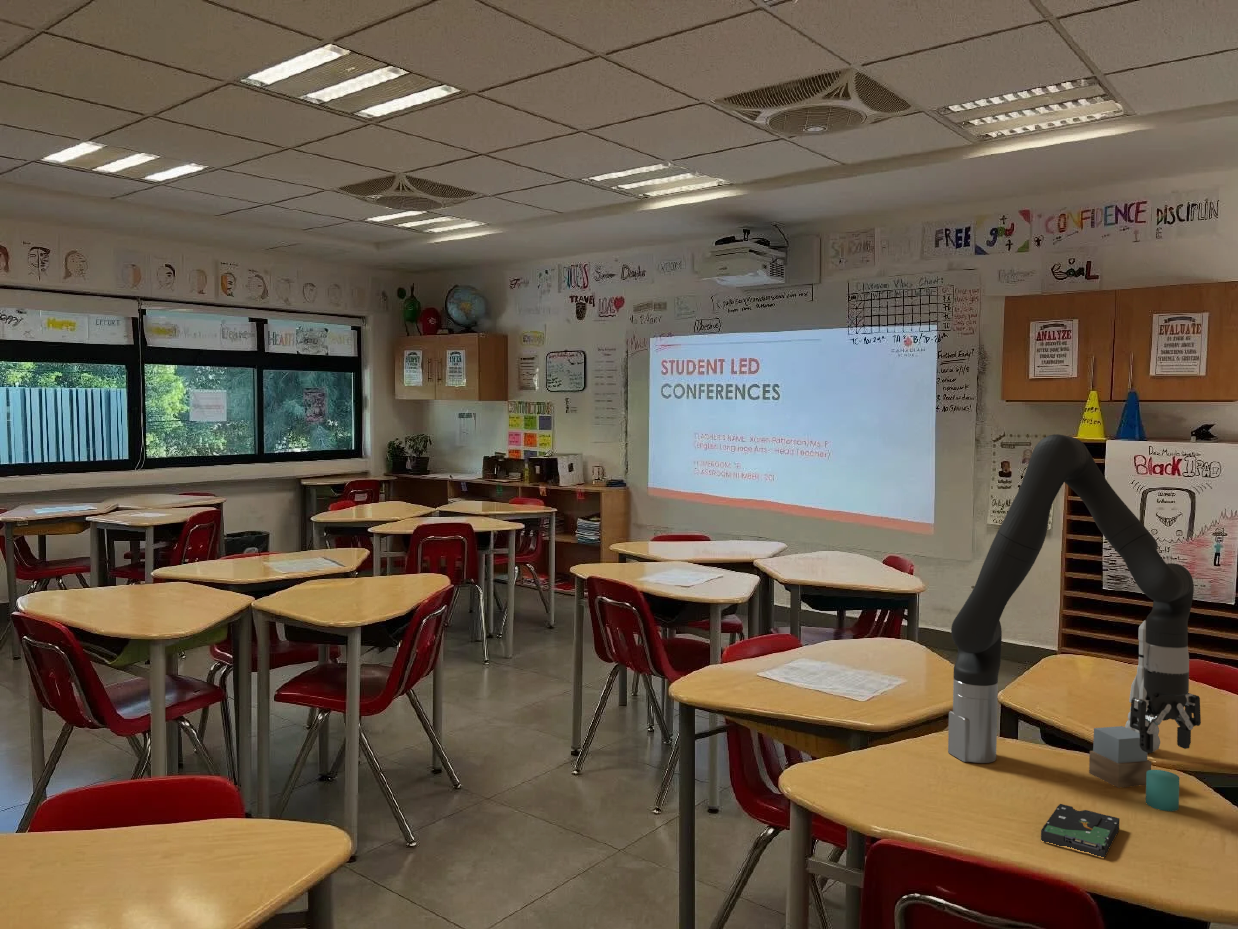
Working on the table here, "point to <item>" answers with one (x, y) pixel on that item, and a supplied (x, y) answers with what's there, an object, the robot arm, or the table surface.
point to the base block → (1118, 771)
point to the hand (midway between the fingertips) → (1165, 749)
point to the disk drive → (1080, 830)
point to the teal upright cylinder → (1162, 790)
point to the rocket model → (1138, 687)
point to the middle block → (1118, 744)
